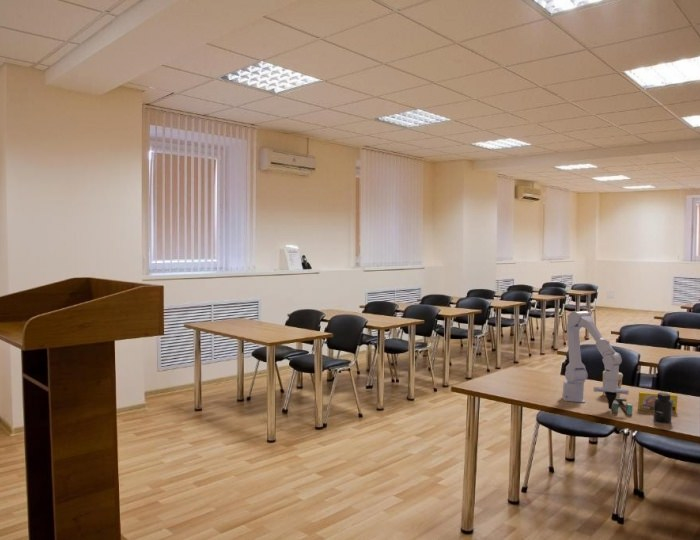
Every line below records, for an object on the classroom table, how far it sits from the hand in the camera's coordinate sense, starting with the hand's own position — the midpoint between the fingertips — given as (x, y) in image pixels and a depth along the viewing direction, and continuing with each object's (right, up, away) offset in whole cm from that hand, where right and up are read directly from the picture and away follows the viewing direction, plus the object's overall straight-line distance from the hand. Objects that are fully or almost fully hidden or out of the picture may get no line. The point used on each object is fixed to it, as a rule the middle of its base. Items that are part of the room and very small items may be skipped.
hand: (609, 408), depth 250 cm
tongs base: (+7, -1, +4) cm, 8 cm away
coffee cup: (+14, -1, +27) cm, 30 cm away
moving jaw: (+3, -1, +2) cm, 4 cm away
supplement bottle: (+17, -2, -13) cm, 21 cm away
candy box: (+23, -2, +3) cm, 23 cm away
